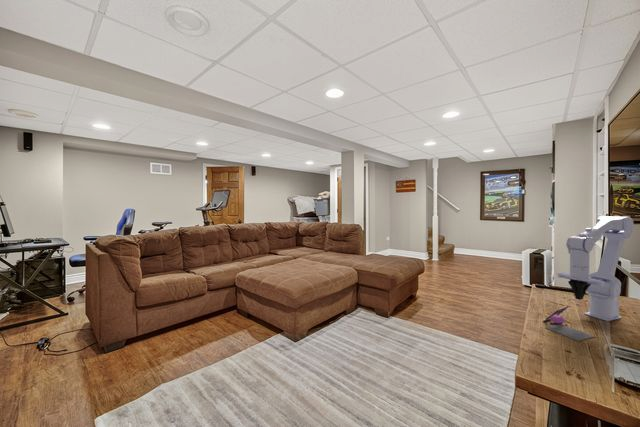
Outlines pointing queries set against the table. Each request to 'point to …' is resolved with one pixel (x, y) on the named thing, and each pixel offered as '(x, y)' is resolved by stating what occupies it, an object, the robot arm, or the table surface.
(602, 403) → the table surface
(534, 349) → the table surface
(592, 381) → the table surface
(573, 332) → the mat
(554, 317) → the purple monster photo frame
